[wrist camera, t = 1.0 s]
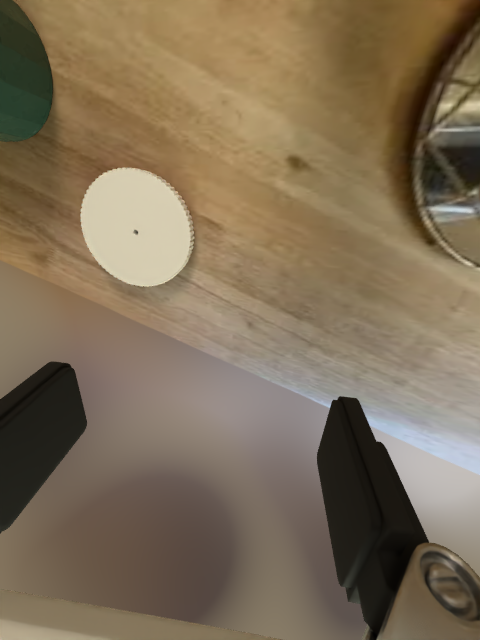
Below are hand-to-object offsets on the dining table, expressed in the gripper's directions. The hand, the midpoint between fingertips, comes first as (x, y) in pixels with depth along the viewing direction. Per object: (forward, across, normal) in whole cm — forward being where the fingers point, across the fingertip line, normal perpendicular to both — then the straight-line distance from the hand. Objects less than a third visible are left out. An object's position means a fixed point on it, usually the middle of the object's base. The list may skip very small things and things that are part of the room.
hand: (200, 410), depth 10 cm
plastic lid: (+29, +14, -2) cm, 32 cm away
